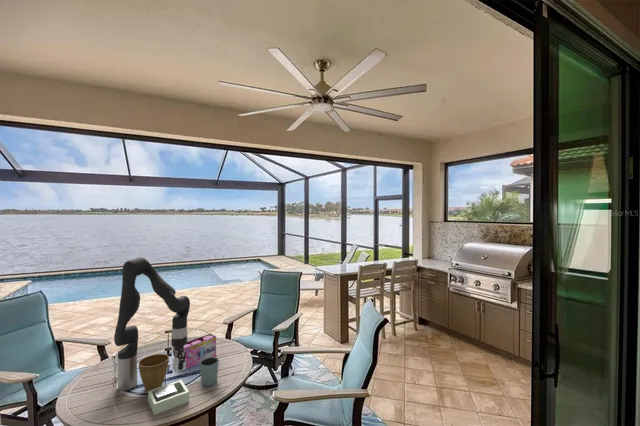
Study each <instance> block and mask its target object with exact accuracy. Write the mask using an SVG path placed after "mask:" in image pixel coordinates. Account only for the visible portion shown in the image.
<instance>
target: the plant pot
mask: <svg viewBox="0 0 640 426" xmlns="http://www.w3.org/2000/svg"><path fill="white" fill-rule="evenodd" d="M169 361H170V356H169V355H168V354H165V353H157V354H152V355H148V356H146V357H144V358H142V359H140V360H139V361H138V362H137V365H138V371H139V374H140V379H141V382H142V385H143V387H144V389H145V391H146V392H148V391H150V390H153V389H156V388H159V387H162V386H163V385H164V380H165V378H166V374H167V370H168V367H169Z"/></svg>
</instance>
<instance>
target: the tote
mask: <svg viewBox="0 0 640 426" xmlns="http://www.w3.org/2000/svg"><path fill="white" fill-rule="evenodd" d="M170 385H174V387H175V389H176V390H177V395H175V396H172V397H169V398H166V399H163V400H161V401H158V402H156V400H155V398H154V391H156V390H159V389H162V388H165V387H167V386H170ZM147 393H148V394H147V402H148V404H149V406H150V409H151V411H152V414H153V416H155V415H158V414H161V413H163V412H167V411H169V410H171V409H174V408H176V407H179V406H182V405H184V404H187V403H189V402H190V390H189V389H188V387H187V386H186V385H185V384H184V381H183V380H182V379H180V380H177V381H174V382H171V383H168V384H165V385H162V386H161V387H159V388H156V389H153V390H150V391H147Z"/></svg>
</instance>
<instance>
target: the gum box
mask: <svg viewBox="0 0 640 426" xmlns="http://www.w3.org/2000/svg"><path fill="white" fill-rule="evenodd" d="M184 350H185V351H184V352H186V369H185V370H187V369H188V368H192V367H194V366H196V365H200V362H201V361H202V360H203V359H206V358H210V357H215V358H216V357H217V336H215V335H214V334H211V333H209V334H205V335H203V336H200V337H197V338H194V339H192V340H187V344H186V345H184Z"/></svg>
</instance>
